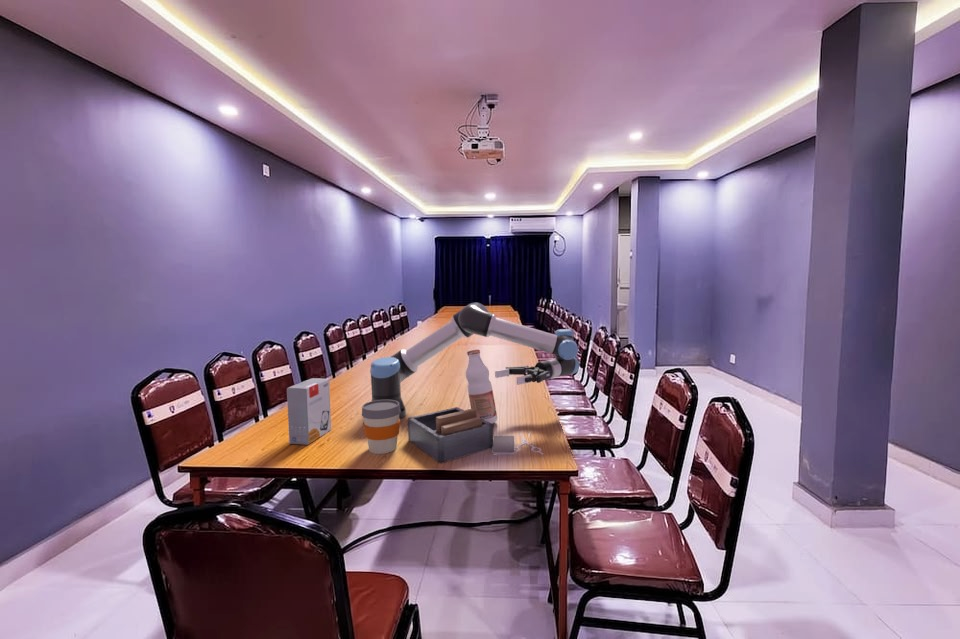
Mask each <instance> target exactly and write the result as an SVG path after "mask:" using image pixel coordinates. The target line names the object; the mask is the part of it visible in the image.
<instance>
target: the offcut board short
mask: <svg viewBox="0 0 960 639" xmlns="http://www.w3.org/2000/svg"><path fill="white" fill-rule="evenodd" d="M480 425H482V419H481V418H479V417H476V418H472V419H467V420H463V421H459V422H455V423H451V424H447V425H443V426H441V435H445V434H449V433H453V432H457V431H461V430H465V429H468V428H472V427H476V426H480Z"/></svg>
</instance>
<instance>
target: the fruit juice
mask: <svg viewBox="0 0 960 639" xmlns="http://www.w3.org/2000/svg"><path fill="white" fill-rule="evenodd" d="M466 355H467V357H468V365H467V368H466V370H465V378H466V381H467V393H468V398H469V399H468V400H469V405H470V409H474V410H476V414H477V417H479V418H481V419H483V420H485V421H487V422H489V423H491V424H494V423H495V422H498V412H497V409H496V408H497V407H496V401H495V396H494V390H493V385H492V382H491V380H490V370H489V368H488V367H487V366H486V364H485V363H484V362H483V360H482V358H481V351H480V349H474V350H468V351H467V352H466Z"/></svg>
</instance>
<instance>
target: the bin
mask: <svg viewBox="0 0 960 639" xmlns="http://www.w3.org/2000/svg"><path fill="white" fill-rule="evenodd" d="M460 411H464V409H462V408H460V407H457V406H456V407H451V408H447V409H443V410H438V411H434V412H428V413H423V414H420V415H416V416H411V417H407V432H408V436H407V438H408V441H409V442H411V443H412V444H413V445H415V446H416V447H418V449H420V450H422V451H423V452H424V453H426V454H427V455H429V457H431V458H432V459H434V460H435V461H437V462H438V463H439V464H443V463H445V462H450V461H452V460H456V459H460V458H464V457H466V456H470V455H473V454H476V453H480V452H482V451H485V450H489V449H492V447H493V437H494V423H492V424H491V423H489V422H487V421H485V420H483V419H482V425H480V426H476V427H472V428H468V429H465V430H461V431H457V432H453V433H449V434H445V435H440V434H438V433H437V432H436V417H438V416H442V415H447V414H451V413H455V412H460ZM449 460H450V461H449ZM442 462H443V463H442Z"/></svg>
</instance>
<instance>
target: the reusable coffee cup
mask: <svg viewBox="0 0 960 639" xmlns="http://www.w3.org/2000/svg"><path fill="white" fill-rule="evenodd" d="M361 408H362V409H361V416H362V418H363V423H362V425H363V431H364V437H365V438H366V441H367V445H368V447H367V448H368V451H369V452H370V453H371V454H374V455H385V454H389V452H390V453H392V452H394V451H395V450H396V449H397V445H398V435H399V433H400V425H401V419H399V413H400V412H401V411H400V405H399V402H398V401H395V400H376V401H372V400H371V401H368V402H365V403H364V404H362V406H361Z"/></svg>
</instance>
